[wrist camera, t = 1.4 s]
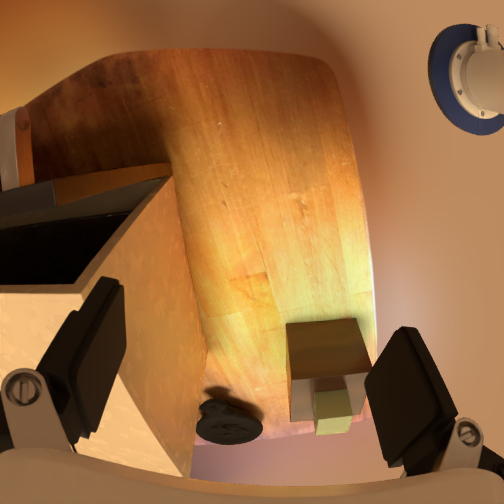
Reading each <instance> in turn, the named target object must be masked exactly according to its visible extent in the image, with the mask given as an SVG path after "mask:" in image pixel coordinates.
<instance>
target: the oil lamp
mask: <svg viewBox="0 0 504 504" xmlns="http://www.w3.org/2000/svg"><path fill="white" fill-rule="evenodd" d="M199 409H200V410H204V411H206V412H207V413H206V414H205V415H204V416H203V417H202V418H201V419H200V420H199V421H198V422H197V426H196V433H197V434H198V435H199V436H200V437H201V438H203V439H204V440H207V441H210V442H212V443H216V444H221V445H235V444H241V443H246V442H249V441H252V440H254V439H255V438H257V437H258V436H259V435H260V434H261V433H262V431H263V426H262V424H261V422H260V421H259V420H258V419H257V418H256V417H255V416H253V415H252V414H250V413H248V412H245V411H243V410H240V409H237V408H233V407H231V406H228V403H227V402H225V401H224V400H221V399H216V398H215V399H210V400H208V401H206V402H204V403H203V404H202V405H200V407H199Z"/></svg>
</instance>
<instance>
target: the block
mask: <svg viewBox="0 0 504 504" xmlns="http://www.w3.org/2000/svg"><path fill="white" fill-rule="evenodd" d="M313 418H314V426H315V434H316V436H317V435H327V434H335V433H343V432H348V430H349V427H350V424H351V421H352V418H353V412H352V407H351V403H350V398H349V394H348V389H342V390H333V391H324V392H315V393H314V402H313Z"/></svg>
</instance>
